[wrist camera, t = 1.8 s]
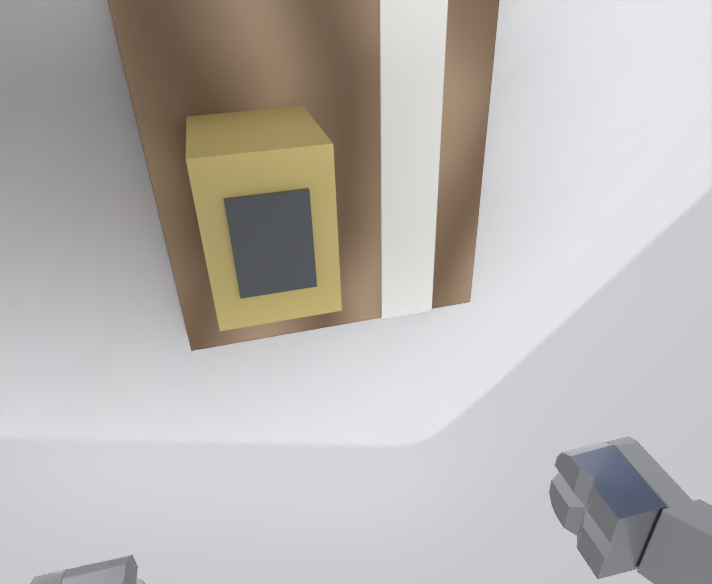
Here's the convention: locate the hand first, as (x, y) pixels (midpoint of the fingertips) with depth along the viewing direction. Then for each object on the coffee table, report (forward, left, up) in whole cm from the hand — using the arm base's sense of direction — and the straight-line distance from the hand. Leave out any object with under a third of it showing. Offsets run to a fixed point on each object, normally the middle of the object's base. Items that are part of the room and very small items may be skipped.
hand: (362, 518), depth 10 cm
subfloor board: (+3, 0, -20) cm, 20 cm away
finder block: (0, 0, -18) cm, 18 cm away
